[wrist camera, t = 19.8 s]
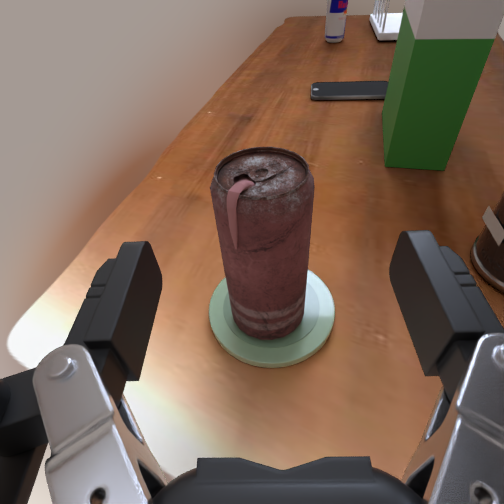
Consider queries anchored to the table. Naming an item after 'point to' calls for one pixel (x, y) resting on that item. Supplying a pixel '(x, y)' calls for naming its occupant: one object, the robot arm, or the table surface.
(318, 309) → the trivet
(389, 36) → the file sorter
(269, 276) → the can
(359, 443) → the table surface
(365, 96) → the smartphone
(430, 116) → the hardback book
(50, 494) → the robot arm
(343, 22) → the beverage can
